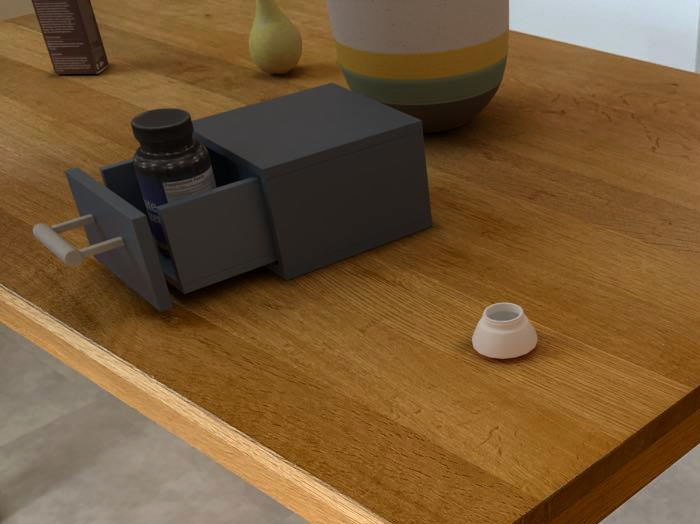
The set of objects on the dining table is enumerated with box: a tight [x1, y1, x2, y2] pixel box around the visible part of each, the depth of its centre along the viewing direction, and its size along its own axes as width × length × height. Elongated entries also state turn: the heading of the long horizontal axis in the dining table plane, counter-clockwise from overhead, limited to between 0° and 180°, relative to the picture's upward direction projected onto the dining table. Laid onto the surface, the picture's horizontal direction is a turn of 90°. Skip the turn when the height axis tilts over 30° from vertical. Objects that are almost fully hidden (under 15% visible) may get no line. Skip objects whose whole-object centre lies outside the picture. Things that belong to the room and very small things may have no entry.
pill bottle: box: [130, 107, 217, 257], centre depth 85 cm, size 6×6×11 cm
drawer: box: [32, 145, 278, 313], centre depth 86 cm, size 20×14×8 cm
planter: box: [325, 0, 510, 134], centre depth 109 cm, size 20×20×21 cm
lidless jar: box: [471, 302, 539, 360], centre depth 77 cm, size 5×3×5 cm
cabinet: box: [192, 82, 433, 281], centre depth 92 cm, size 16×15×10 cm
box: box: [30, 0, 110, 75], centre depth 131 cm, size 6×4×12 cm
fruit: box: [248, 0, 303, 75], centre depth 127 cm, size 7×8×12 cm
